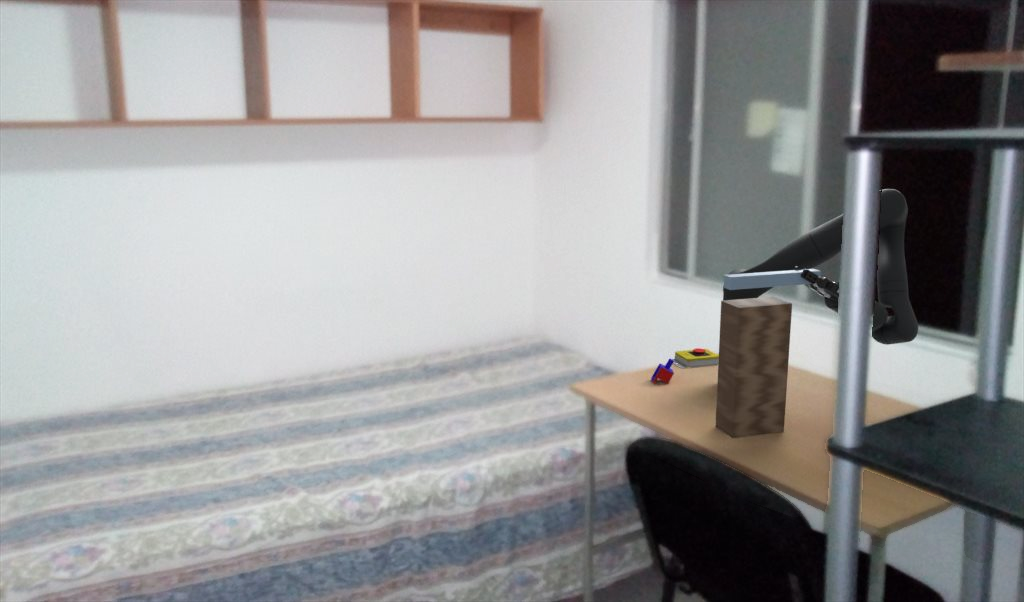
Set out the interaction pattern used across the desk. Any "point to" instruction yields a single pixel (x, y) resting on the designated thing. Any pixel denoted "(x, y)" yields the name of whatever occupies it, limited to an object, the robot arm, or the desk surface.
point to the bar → (766, 279)
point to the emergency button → (695, 358)
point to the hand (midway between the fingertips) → (798, 271)
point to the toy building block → (663, 372)
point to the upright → (753, 366)
